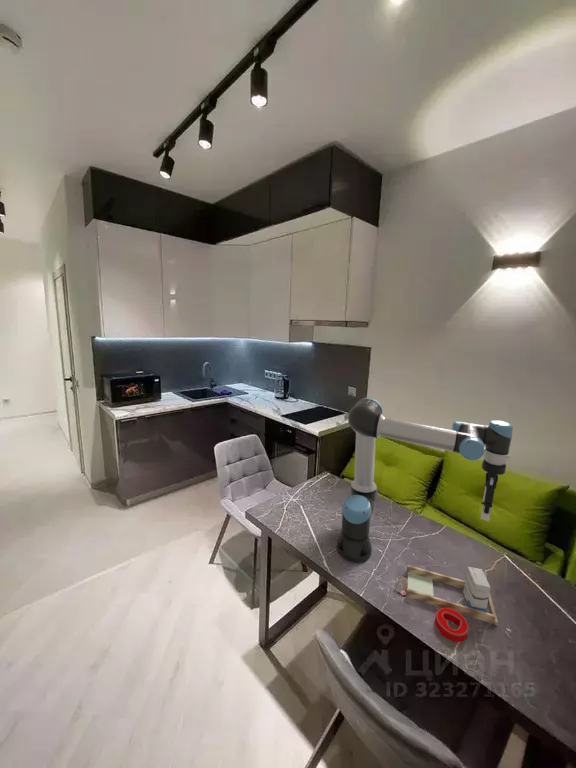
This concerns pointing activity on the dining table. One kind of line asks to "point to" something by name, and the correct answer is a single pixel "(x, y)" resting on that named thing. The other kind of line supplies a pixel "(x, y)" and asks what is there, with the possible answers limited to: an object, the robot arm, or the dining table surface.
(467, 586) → the ink box
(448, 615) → the decorative ornament
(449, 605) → the bay
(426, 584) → the front pad
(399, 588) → the chocolate bar
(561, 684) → the dining table surface
